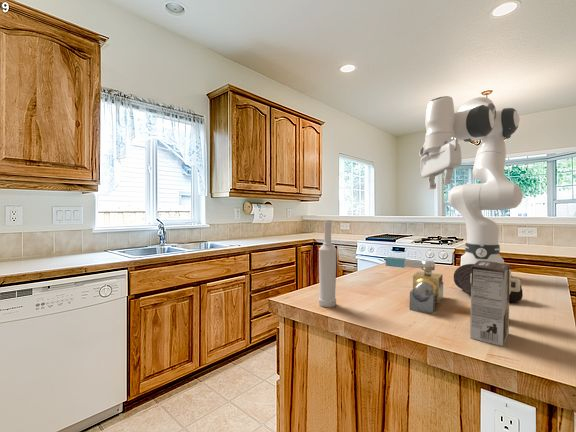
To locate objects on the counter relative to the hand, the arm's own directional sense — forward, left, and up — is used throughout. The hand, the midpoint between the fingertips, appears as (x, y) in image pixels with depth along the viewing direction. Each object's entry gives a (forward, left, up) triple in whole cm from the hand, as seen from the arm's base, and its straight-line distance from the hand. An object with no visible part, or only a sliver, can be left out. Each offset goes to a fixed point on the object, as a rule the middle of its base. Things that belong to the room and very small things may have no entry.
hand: (439, 186), depth 100 cm
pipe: (-7, +13, -36) cm, 39 cm away
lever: (+12, -6, -26) cm, 29 cm away
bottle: (+31, -25, -36) cm, 53 cm away
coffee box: (+30, +15, -36) cm, 49 cm away
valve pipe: (+12, -1, -36) cm, 38 cm away
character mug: (+16, +15, -36) cm, 42 cm away
